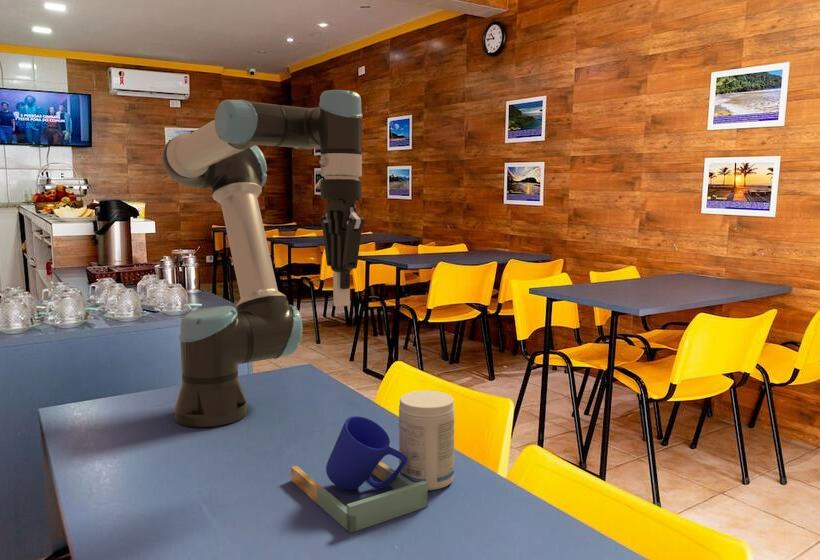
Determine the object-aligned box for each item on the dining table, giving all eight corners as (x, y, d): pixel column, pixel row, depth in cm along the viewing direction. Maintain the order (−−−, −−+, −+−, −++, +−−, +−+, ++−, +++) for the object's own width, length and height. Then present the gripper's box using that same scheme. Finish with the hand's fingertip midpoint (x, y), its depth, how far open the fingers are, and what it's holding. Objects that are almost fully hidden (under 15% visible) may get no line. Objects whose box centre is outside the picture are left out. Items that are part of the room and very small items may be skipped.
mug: (379, 515, 101) (407, 468, 98) (313, 480, 101) (339, 433, 98) (387, 486, 109) (413, 442, 106) (326, 453, 109) (351, 409, 106)
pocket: (317, 503, 99) (317, 480, 99) (390, 481, 107) (391, 459, 107) (350, 533, 91) (350, 507, 90) (427, 506, 99) (427, 482, 98)
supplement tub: (444, 465, 114) (445, 388, 112) (461, 489, 105) (463, 405, 103) (392, 471, 112) (393, 391, 110) (405, 495, 103) (406, 409, 101)
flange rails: (291, 480, 107) (290, 466, 107) (361, 461, 115) (361, 448, 115) (317, 503, 99) (317, 489, 99) (390, 481, 107) (390, 468, 107)
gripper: (307, 178, 117) (308, 302, 120) (340, 177, 107) (340, 312, 110) (342, 179, 122) (342, 299, 125) (377, 178, 111) (376, 308, 114)
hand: (341, 305), depth 117 cm, fingers closed
